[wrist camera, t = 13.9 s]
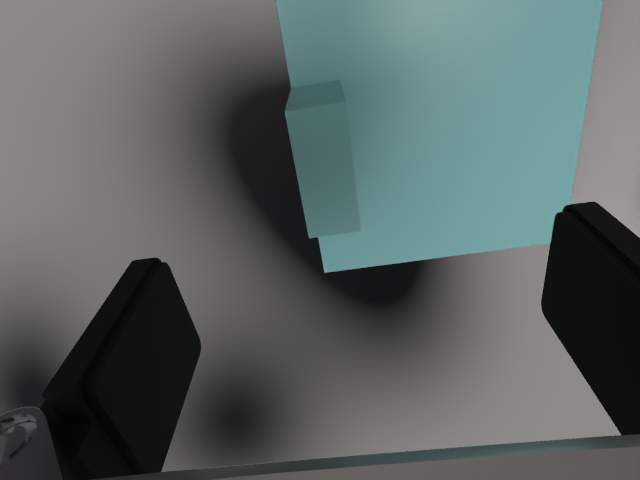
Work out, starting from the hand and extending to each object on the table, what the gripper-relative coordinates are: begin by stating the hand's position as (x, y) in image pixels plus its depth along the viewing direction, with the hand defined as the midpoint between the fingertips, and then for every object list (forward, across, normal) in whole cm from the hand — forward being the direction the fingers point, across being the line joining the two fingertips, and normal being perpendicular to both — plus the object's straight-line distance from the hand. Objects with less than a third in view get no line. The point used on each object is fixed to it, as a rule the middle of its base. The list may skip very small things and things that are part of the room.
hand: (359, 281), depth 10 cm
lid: (+16, -5, +1) cm, 17 cm away
